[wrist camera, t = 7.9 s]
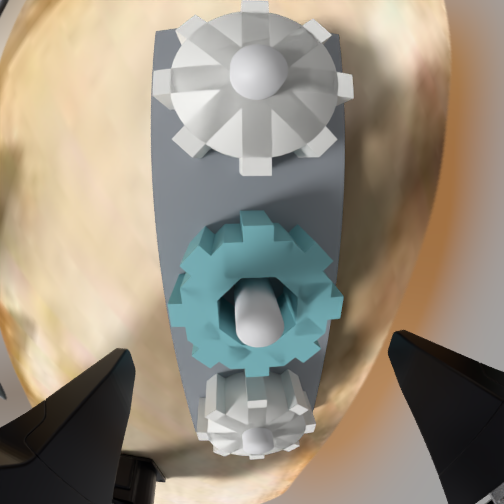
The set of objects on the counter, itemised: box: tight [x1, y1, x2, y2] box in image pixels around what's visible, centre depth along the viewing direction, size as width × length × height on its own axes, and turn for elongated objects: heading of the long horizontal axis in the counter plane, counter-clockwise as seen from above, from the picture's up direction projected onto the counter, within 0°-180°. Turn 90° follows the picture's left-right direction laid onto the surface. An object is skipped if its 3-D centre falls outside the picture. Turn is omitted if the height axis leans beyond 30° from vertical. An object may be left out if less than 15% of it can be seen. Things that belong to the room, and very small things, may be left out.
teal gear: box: [168, 210, 344, 377], centre depth 12 cm, size 7×7×3 cm
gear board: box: [151, 0, 354, 460], centre depth 13 cm, size 26×9×6 cm, turn 0°
